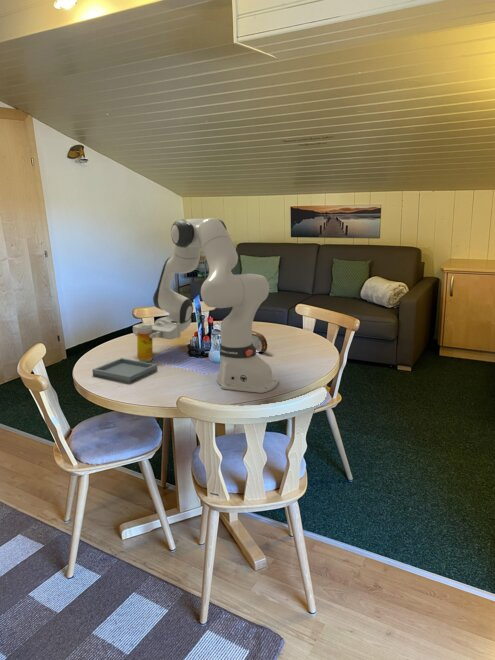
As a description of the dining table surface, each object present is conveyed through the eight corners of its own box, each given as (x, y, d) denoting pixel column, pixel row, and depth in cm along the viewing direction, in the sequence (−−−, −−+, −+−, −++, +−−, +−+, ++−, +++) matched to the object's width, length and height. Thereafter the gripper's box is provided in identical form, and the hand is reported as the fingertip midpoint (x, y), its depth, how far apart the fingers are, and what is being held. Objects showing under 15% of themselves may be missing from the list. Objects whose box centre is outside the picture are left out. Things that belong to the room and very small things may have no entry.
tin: (267, 354, 208) (268, 335, 206) (261, 355, 207) (262, 336, 204) (248, 346, 220) (248, 328, 218) (242, 347, 219) (242, 329, 216)
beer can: (148, 362, 196) (148, 326, 193) (134, 361, 198) (134, 325, 195) (154, 359, 202) (154, 323, 199) (141, 357, 203) (141, 322, 201)
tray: (157, 370, 188) (157, 364, 187) (129, 383, 174) (129, 377, 174) (121, 363, 196) (121, 357, 195) (92, 375, 182) (92, 369, 182)
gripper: (144, 318, 212) (123, 325, 201) (183, 323, 203) (162, 330, 191) (145, 332, 214) (124, 339, 202) (183, 337, 205) (163, 345, 193)
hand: (143, 335), depth 197 cm, fingers closed on beer can, 5 cm apart
